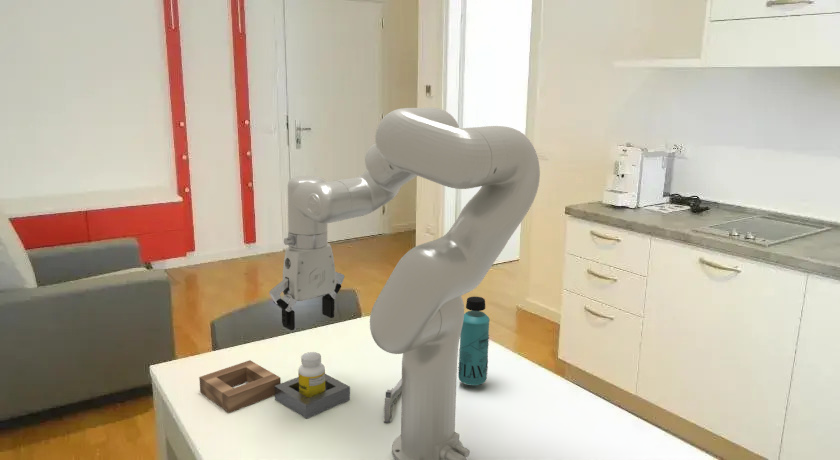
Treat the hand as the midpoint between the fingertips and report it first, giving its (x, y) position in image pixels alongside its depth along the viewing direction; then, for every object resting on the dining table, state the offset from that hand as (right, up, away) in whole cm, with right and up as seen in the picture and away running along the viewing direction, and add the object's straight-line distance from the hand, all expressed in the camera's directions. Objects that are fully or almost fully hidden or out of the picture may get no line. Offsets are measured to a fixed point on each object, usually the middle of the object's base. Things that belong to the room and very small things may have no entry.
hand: (309, 321), depth 126 cm
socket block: (0, -17, +3) cm, 17 cm away
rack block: (-15, -16, +6) cm, 23 cm away
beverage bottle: (+34, -16, +11) cm, 39 cm away
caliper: (+18, -17, +5) cm, 25 cm away
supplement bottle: (0, -17, +4) cm, 17 cm away
